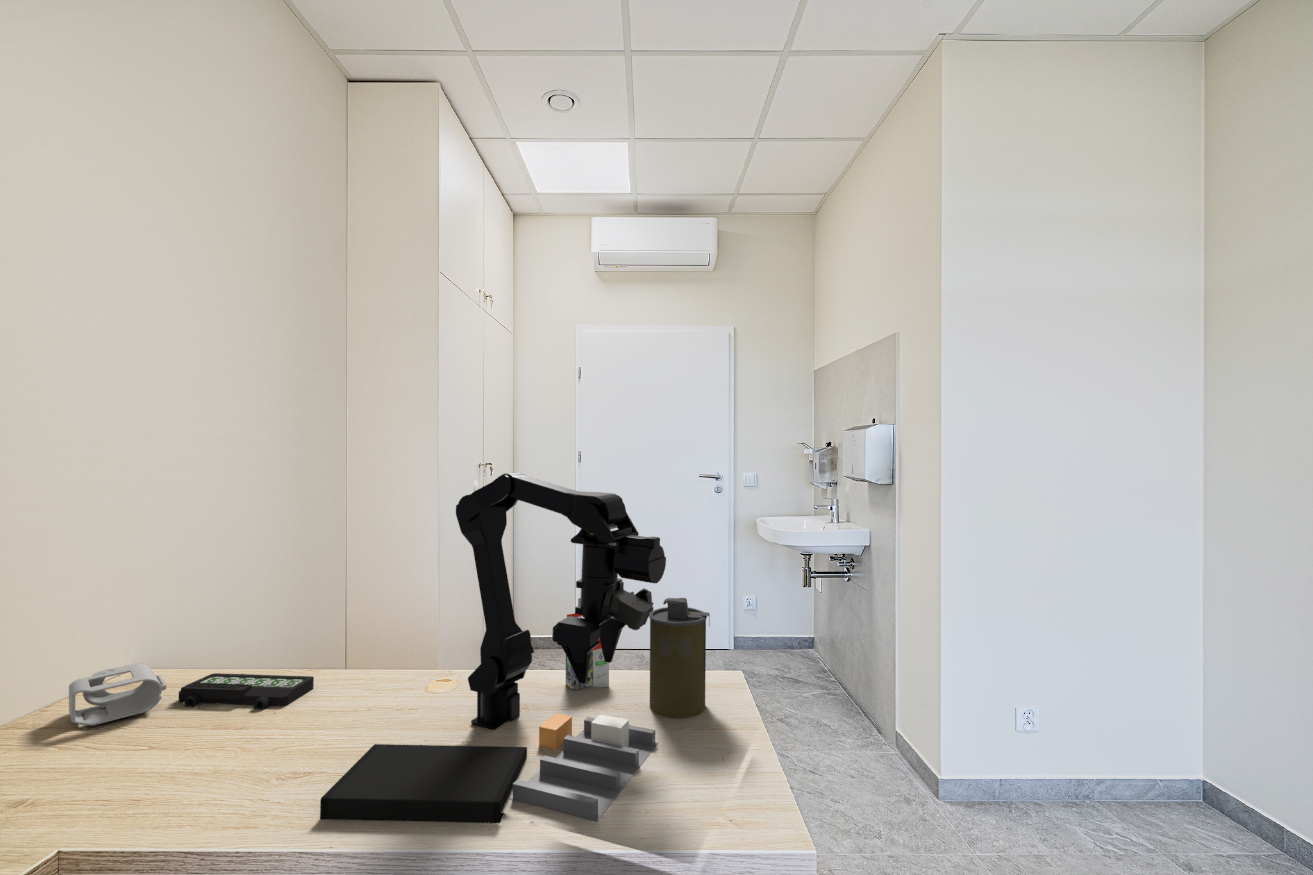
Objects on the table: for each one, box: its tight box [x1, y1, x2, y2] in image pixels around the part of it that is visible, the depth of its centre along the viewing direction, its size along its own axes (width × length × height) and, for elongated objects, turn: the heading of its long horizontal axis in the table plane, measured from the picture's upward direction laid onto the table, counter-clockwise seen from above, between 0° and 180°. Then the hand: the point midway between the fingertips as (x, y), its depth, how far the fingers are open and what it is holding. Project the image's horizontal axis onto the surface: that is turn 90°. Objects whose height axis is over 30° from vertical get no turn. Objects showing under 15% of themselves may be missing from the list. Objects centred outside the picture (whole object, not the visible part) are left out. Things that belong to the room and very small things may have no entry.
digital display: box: [178, 672, 314, 711], centre depth 114 cm, size 21×3×10 cm
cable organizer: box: [68, 663, 167, 726], centre depth 108 cm, size 7×12×12 cm
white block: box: [591, 714, 630, 747], centre depth 94 cm, size 5×3×4 cm, turn 69°
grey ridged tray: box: [508, 716, 659, 823], centre depth 88 cm, size 13×21×3 cm, turn 159°
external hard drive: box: [319, 743, 528, 824], centre depth 84 cm, size 14×23×3 cm, turn 88°
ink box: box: [565, 612, 610, 691], centre depth 119 cm, size 4×8×15 cm, turn 123°
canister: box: [648, 597, 711, 720], centre depth 109 cm, size 11×10×20 cm
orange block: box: [538, 713, 573, 750], centre depth 96 cm, size 5×3×4 cm, turn 159°
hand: (595, 672), depth 96 cm, fingers open, 9 cm apart
